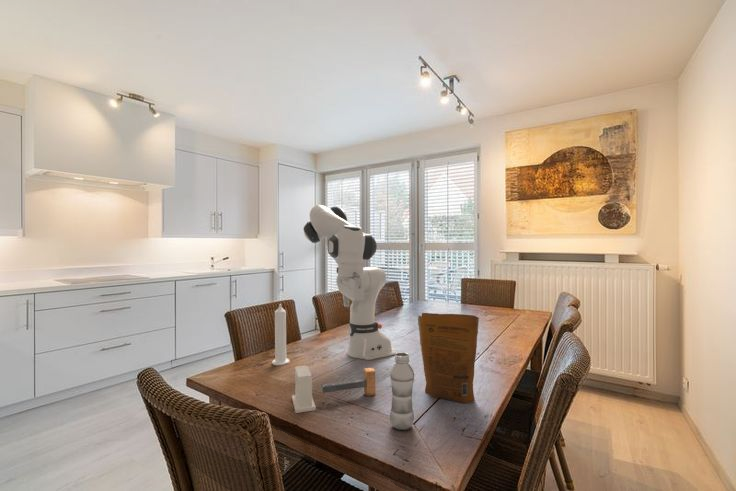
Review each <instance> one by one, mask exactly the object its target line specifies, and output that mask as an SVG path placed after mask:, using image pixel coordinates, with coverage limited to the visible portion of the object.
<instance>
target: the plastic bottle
mask: <svg viewBox="0 0 736 491" xmlns="http://www.w3.org/2000/svg"><path fill="white" fill-rule="evenodd" d="M409 355H410V354H409V353H407V352H396V354H395V355H394V362H395V364H394V365H393V367H392V368H391V370H390V373H389V375H390V383H391V384H390V385H391V392H392V394H391V396H392V397H391V409H390V411H389V412H390V413H389V421H390V424H391V426H392V427H393V428H394V429H396V430H398V431H399V430H400V431H402V430H403V431H405V430H409V429H410V428H411V427H412V426H413V425H414V422H415V421H414V420H415V415H414V410H413V399H412V398H413V386H414V380H415V372H414V369H413V367H412V366H411V365H410V364H409V363H410V356H409Z"/></svg>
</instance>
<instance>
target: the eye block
mask: <svg viewBox="0 0 736 491" xmlns="http://www.w3.org/2000/svg"><path fill="white" fill-rule="evenodd" d="M294 370H295V371H294V373H295V374H294V376H295V378H294V380H295V382H294V383H295V384H294V386H295V390H294V391H295V392H294V394H293V395H291V400H292V404H293V407H294V413H295V414H299V413H306V412H311V411H316V410H317V408H316V407H317V406H316V404H315V401H314V398H313V377H312V376H313V375H312V373H311V369H310V367H309V365H308V364H307V365H301V366H300V365H298V366H295V367H294Z"/></svg>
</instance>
